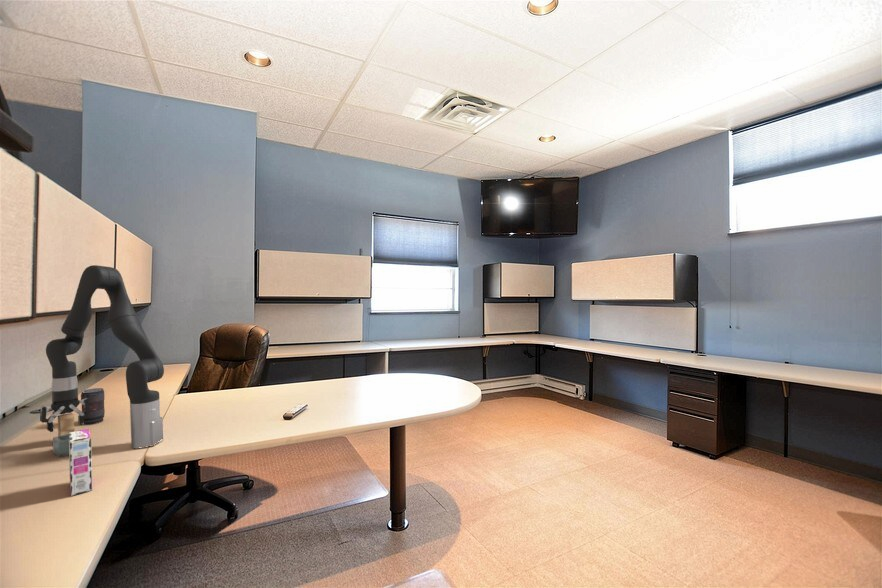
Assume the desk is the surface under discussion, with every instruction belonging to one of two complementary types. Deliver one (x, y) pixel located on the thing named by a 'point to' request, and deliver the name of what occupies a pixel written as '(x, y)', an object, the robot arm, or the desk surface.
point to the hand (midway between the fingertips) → (66, 428)
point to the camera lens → (94, 405)
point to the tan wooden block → (65, 424)
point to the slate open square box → (61, 445)
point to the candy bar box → (80, 462)
